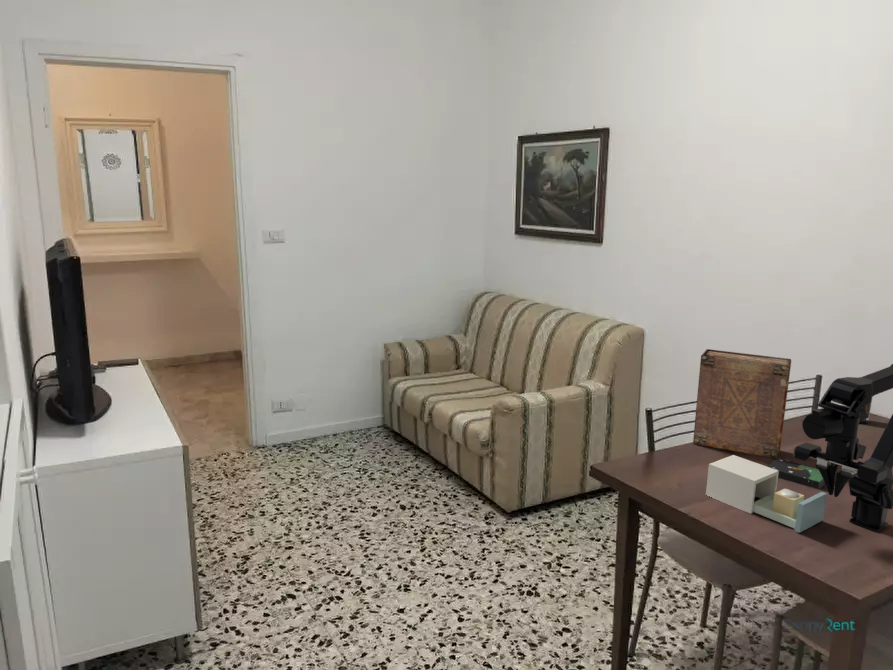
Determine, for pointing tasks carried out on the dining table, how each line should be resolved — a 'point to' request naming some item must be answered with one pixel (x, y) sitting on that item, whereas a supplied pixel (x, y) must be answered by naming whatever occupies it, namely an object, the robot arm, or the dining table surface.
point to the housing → (740, 482)
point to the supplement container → (865, 417)
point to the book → (741, 402)
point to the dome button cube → (787, 502)
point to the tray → (806, 512)
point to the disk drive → (798, 473)
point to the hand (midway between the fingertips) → (833, 495)
